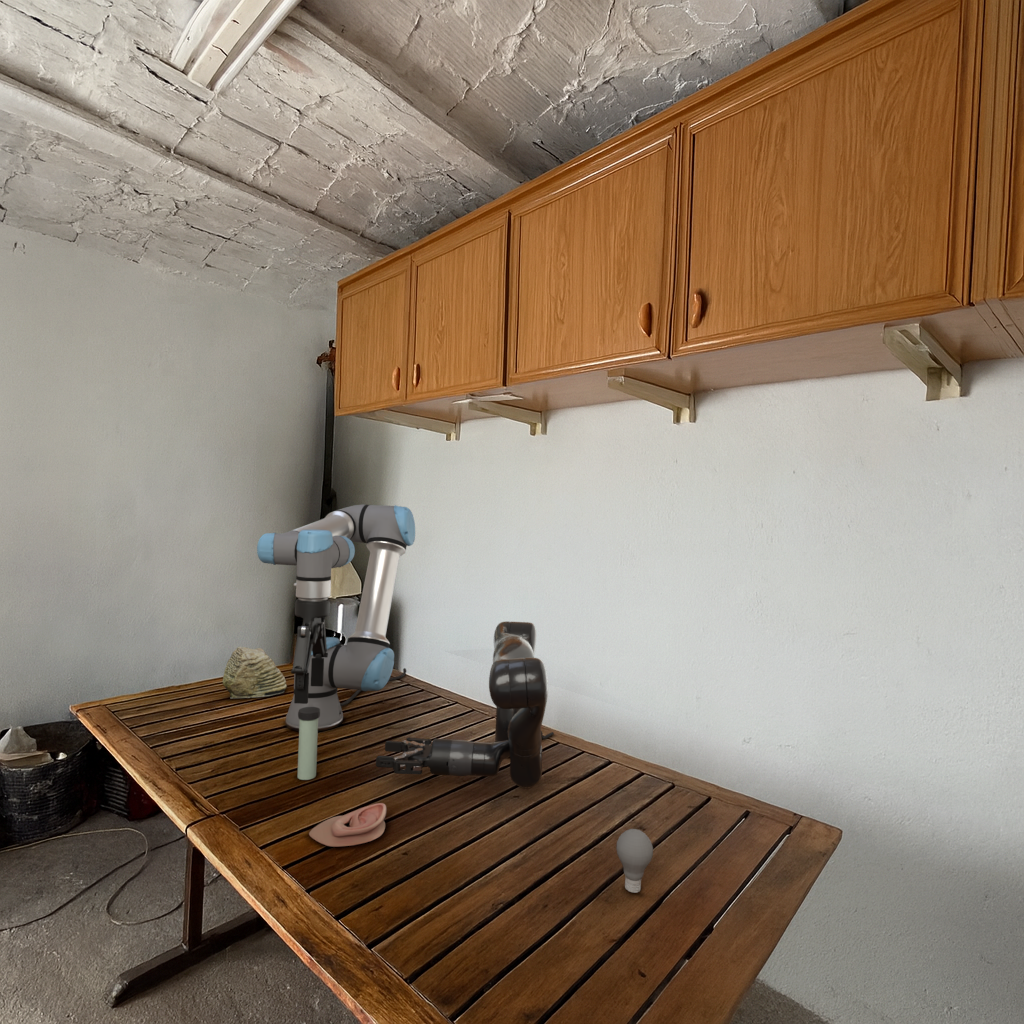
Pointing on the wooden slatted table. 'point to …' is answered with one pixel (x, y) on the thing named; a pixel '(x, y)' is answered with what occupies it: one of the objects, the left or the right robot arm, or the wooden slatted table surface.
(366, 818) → the anatomical model
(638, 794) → the wooden slatted table surface
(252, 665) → the fossil
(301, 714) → the lid
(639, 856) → the light bulb
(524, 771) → the right robot arm
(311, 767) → the bottle
